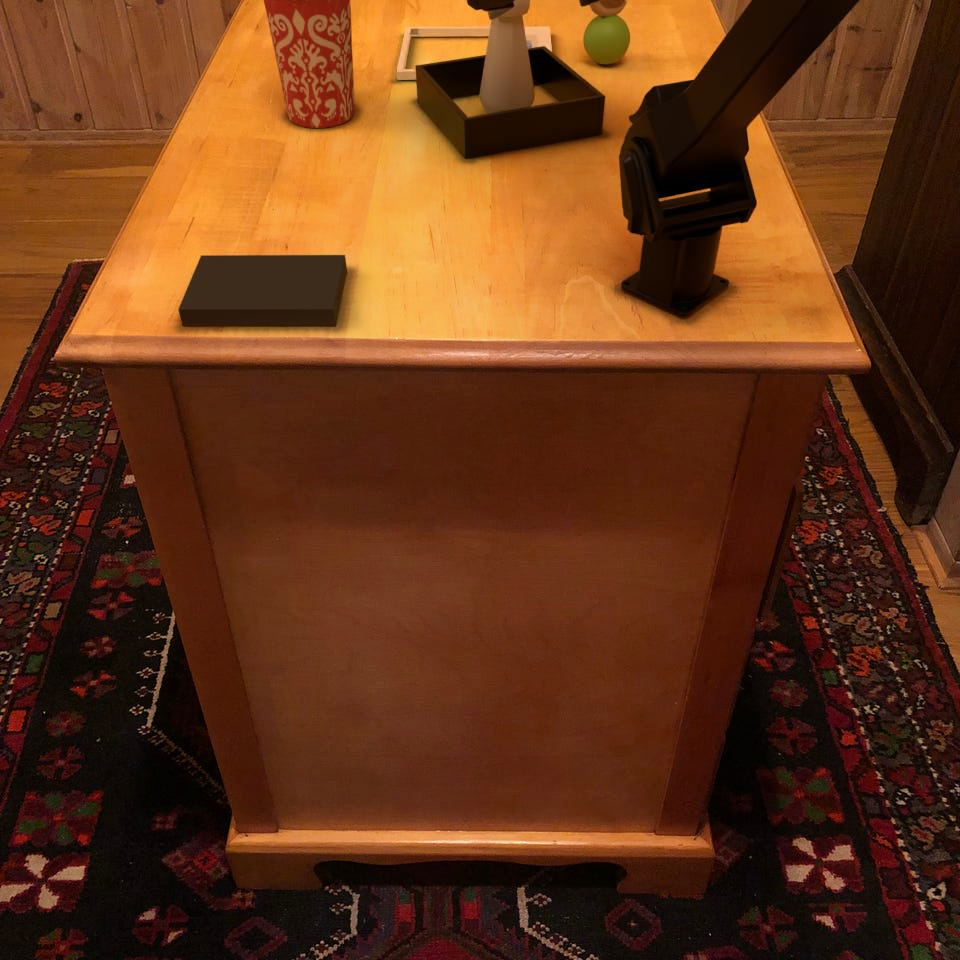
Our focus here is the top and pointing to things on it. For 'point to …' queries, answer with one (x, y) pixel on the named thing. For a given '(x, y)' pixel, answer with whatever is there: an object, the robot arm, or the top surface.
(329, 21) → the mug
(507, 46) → the salt shaker
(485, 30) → the photo frame
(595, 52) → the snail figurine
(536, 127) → the black open square box
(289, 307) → the mat
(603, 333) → the top surface
